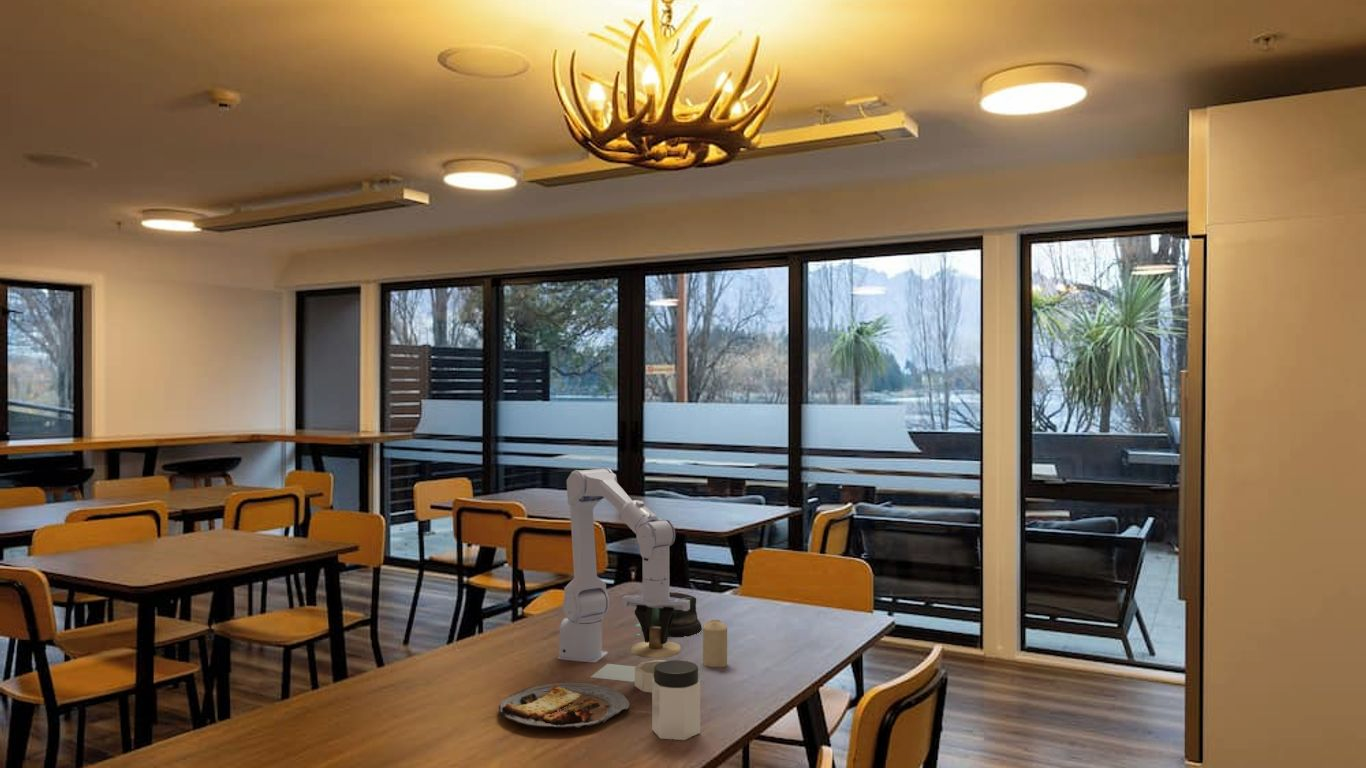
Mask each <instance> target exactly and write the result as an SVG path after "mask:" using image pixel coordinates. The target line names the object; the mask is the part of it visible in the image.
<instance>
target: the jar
mask: <svg viewBox="0 0 1366 768" xmlns="http://www.w3.org/2000/svg"><path fill="white" fill-rule="evenodd" d="M651 698H652V699H651V700H652V701H651V703H652V704H651V712H652V713H651V730H652V731H653V732H654V733H655V734H656V736H657V737H658V738H659V739H661V740H672V739H673V741H674V740H675V741H686V740H688V739H689V738H692V736H693V737H694V736H696V735H699V734H700V733H701V682H700V681H699V666H698V665H697V664H696V663H694V662H690V661H687V660H679V659H678V660H677V659H676V660H665V661H664V662H661V663H658V664H656V665H655V667H654V679H653V680H652V692H651Z"/></svg>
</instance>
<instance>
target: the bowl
mask: <svg viewBox="0 0 1366 768" xmlns="http://www.w3.org/2000/svg"><path fill="white" fill-rule="evenodd" d="M664 661H666V660H662V659H654V660H650V661H642V662H640V663H639V664H638V665H636V666H635V681H634V687H636V688H637V689H638V690H640V691H641V692H644V693H645V692H646V693H652V680H653V679H654V667H655V665H656V664H658V663H661V662H664Z"/></svg>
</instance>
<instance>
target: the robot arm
mask: <svg viewBox="0 0 1366 768" xmlns="http://www.w3.org/2000/svg"><path fill="white" fill-rule="evenodd" d="M566 491H567V492H566V494H567V505H569V509H570V510H569V511H570V530H571V543H572V544H571V545H572V547H571V548H572V561H573V562H572V563H573V578H572V580H570V582H568V583H567V585H566V586H564V589H563V590H564V596H563V601H562V610H563V614H564V616H565V618H563V619H562V621H561V623H560V626H559V631H558V632H559V634H558V635H559V637H558V639H559V640H558V644H559V645H558V647H559V652H558V653H559V654H558V656H557V659H558V660H564V661H575V662H584V663H585V662H586V663H597V662H599V661H600V660H601V659H602V658H604V657H605V656H606V655H609V652H608V651H605V650H604V651H603V647H602V644H603V642H602V641H603V640H602V639H603V636H602V634H603V632H602V631H603V629H602V627H603V619H605V614H607V613H608V612H609V609H610V603H611V602H610V597H609V594H608V591H607V584H606V582H605V581H604V580H603V579H601V578H600V577H598V574H597V573H598V572H597V571H598V570H597V557H596V555H597V554H596V540H595V537H596V536H595V524H594V508H595V507H596V506H597V505H598V504H599V503H600V502H601V501H604V500H606V501H608V502H609V503H610V504H611V505H612V506H613V507H614V508H616V509H617V510H618V511H619V512H620V518H621V521H623V523H625V524H626V526H628V527H627V528H629V529H630V530H632V532H633V533H634V534H635V535H636V536H635V537H636V541H637V544H638V546H639V554H640V556H641V557H642V595H628V594H627V595H624V596H622V599H621V600H622V607H635V610H634V615H635V617H636V618H637V620H638V624H639V623H640V625H641V626H640V629H641V628H642V630H641V632H642V631H643V632H642V634H643V635H642V636H643V639H644V641H645V642H646V643H648V642H649V628H650V627H651V619H652V610H653V608H663V610H661V611H660V612H659V615H660V622H661V644H665V643H666V642H667V641H668V634H669V630H670V627H671V624H672V621H673V619H674V616H675V614H676V612H677V610H683V611H688V610H689V609H690V600H685V599H679V598H673V597H669V592H670V546H672V545H674V543H675V540H676V530H675V527H674V525H673V523H672V522H671V521H670V519H668V518H665V519H664V518H663V519H662V518H661V517H657V515H656V514H655V513H653V511H651V510H650V509H649V508H648V507H647V506H646V505H645V504H646V503H645V502H644V501H643V500H638V499H634V500H633V499H632V498H631V497H630V496H629V495H628V494H627V492H626V491H625V490H624V488H622V486H620V484H619V483H618V479H617V474H616V473H614V471H612V470H611V468H608V467H603V468H596V469H584V470H578V469H575V470H572V471H571V473H570V474H569V475H568V478H567V479H566Z"/></svg>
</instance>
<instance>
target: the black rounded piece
mask: <svg viewBox="0 0 1366 768" xmlns="http://www.w3.org/2000/svg"><path fill="white" fill-rule="evenodd" d="M669 597H673V598H679V599H685V600H690V609H689V610H688V611H683V610H677V612H676V614H675V616H674V619H673V621H672V624H671V627H670V630H669V634H668V637H678V638H685V637H684V636H687V637H692V636H691V635H693V636H695V635H694V634H696V635H698V634H697V633H699V632H700V631H701V630H702V631H703V627H702V623H701V621H700V620H699V619H698V613H697V607H696V606H697V598H696V597H695V596H693V595H690V594H688V593H682V592H681V593H680V592H673V591H669ZM661 610H663V608H653V610H652V619H651V627H655V626H657V627H661V622H660V615H659V612H660V611H661ZM639 626H640V630H641V632H642V633H643V631H642V628H641V625H640V623H639V622H638V623H637V624H635V627H638V628H639ZM702 631H701V632H702ZM701 632H700V633H701ZM700 633H699V634H700ZM636 635H637V636H641V634H640V633H636Z"/></svg>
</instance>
